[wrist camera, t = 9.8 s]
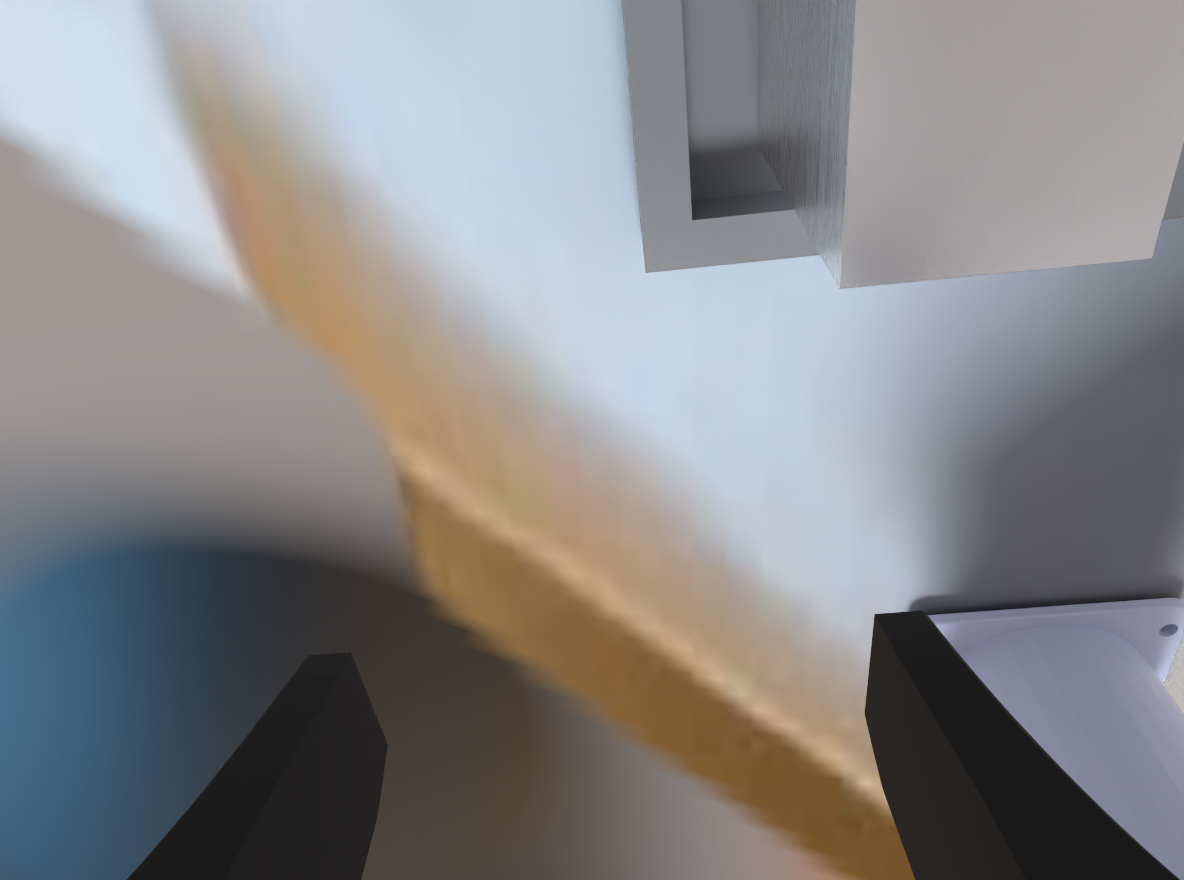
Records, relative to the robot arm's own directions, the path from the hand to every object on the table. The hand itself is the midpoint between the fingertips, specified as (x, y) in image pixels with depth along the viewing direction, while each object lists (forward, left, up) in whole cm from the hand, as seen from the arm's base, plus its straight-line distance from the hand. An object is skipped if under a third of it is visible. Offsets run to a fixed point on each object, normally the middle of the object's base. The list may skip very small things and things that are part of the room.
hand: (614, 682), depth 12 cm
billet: (+7, -6, -10) cm, 13 cm away
